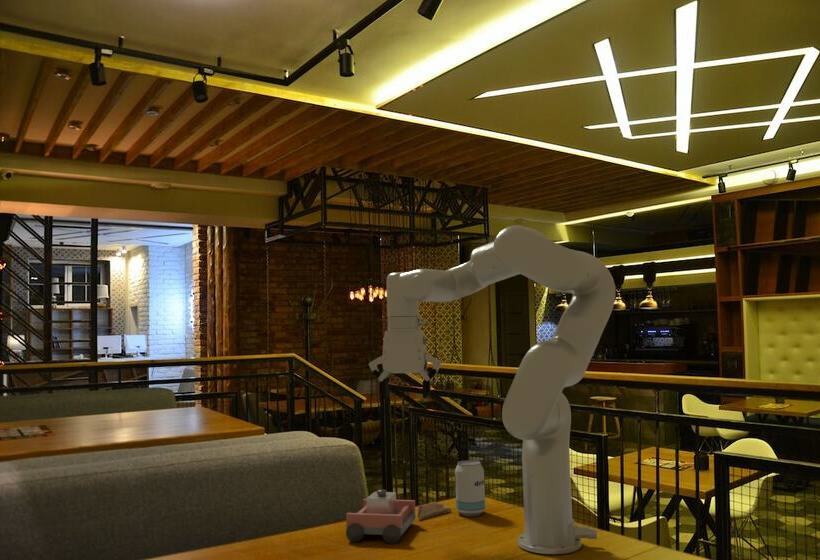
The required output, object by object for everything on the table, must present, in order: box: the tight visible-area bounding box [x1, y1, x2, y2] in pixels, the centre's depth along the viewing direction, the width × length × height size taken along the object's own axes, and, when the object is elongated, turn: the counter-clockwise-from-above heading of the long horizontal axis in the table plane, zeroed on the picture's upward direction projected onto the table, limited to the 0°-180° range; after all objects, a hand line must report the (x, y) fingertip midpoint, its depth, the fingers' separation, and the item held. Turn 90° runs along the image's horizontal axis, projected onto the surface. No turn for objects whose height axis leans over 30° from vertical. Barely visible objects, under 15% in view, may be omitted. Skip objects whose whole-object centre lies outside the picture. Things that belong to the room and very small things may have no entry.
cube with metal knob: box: [365, 489, 397, 514], centre depth 146 cm, size 5×6×6 cm
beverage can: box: [454, 459, 486, 517], centre depth 159 cm, size 7×7×12 cm
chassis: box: [345, 498, 416, 545], centre depth 146 cm, size 12×15×6 cm
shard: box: [417, 501, 452, 521], centre depth 160 cm, size 11×8×2 cm
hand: (405, 398), depth 155 cm, fingers open, 9 cm apart
